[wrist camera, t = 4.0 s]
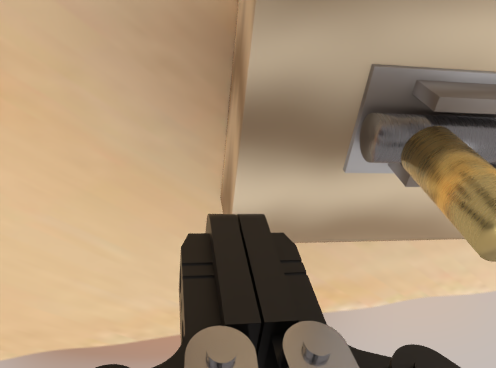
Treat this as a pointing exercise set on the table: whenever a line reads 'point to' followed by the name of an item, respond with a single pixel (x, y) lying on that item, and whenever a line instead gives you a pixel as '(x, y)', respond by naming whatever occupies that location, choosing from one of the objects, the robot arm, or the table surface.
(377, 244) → the table surface
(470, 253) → the table surface
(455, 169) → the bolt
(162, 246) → the table surface
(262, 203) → the grey stone slabs
